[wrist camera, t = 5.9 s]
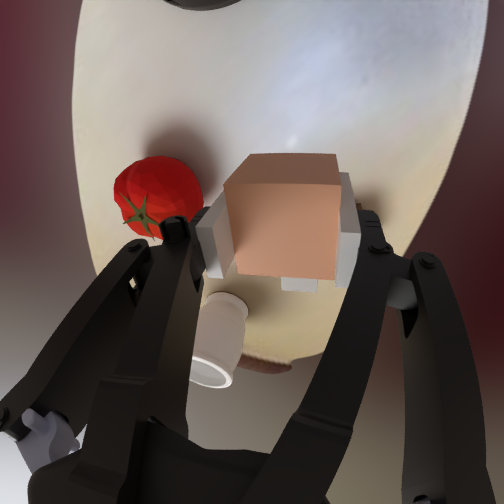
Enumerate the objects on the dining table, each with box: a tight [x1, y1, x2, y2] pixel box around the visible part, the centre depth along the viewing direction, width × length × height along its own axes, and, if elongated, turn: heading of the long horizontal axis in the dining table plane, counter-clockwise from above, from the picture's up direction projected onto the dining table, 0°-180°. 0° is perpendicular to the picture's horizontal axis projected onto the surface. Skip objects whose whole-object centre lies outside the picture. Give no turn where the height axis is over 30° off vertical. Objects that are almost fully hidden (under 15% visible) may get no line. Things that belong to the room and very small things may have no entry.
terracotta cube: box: [223, 153, 341, 280], centre depth 14 cm, size 5×5×5 cm
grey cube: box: [281, 277, 318, 293], centre depth 38 cm, size 5×5×5 cm
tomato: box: [114, 156, 204, 241], centre depth 34 cm, size 11×13×10 cm
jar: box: [189, 292, 248, 388], centre depth 46 cm, size 11×10×15 cm
